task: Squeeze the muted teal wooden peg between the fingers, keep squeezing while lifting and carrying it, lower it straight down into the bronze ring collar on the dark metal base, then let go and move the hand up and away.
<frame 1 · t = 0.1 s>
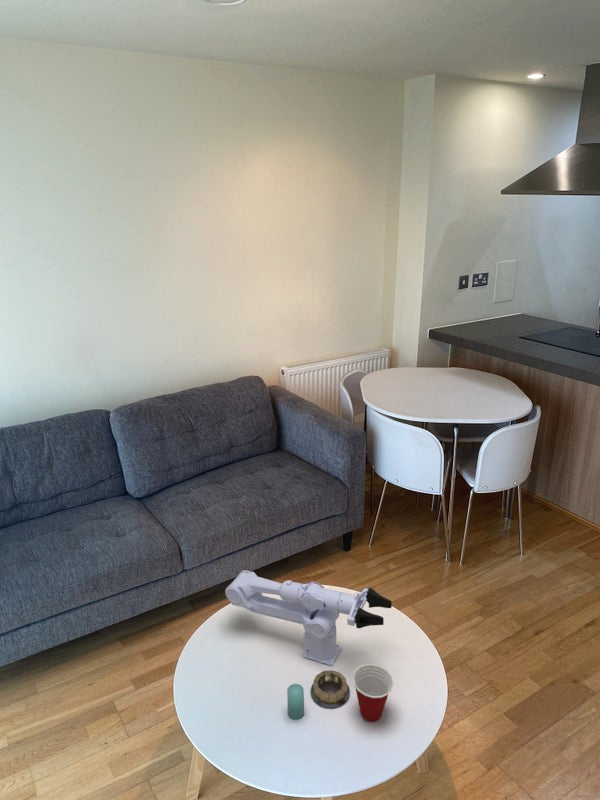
hand: (387, 612, 165), 22 cm above the table, tool horizontal, fingers open, 7 cm apart
candle: (299, 614, 196), on the table
plastic cup: (372, 713, 159), on the table
peg: (296, 713, 160), on the table
ring holder: (330, 692, 166), on the table
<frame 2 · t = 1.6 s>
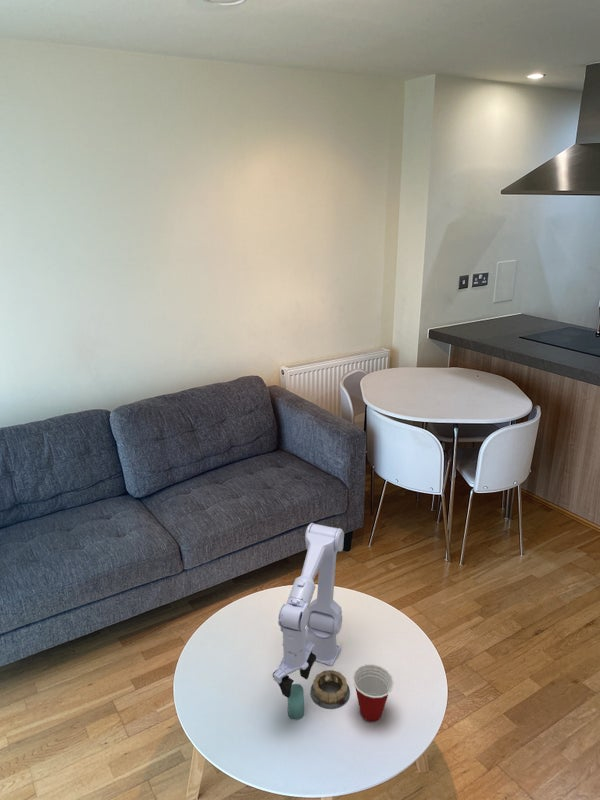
hand: (295, 686, 156), 9 cm above the table, tool pointing down, fingers open, 7 cm apart
nothing on the table moved.
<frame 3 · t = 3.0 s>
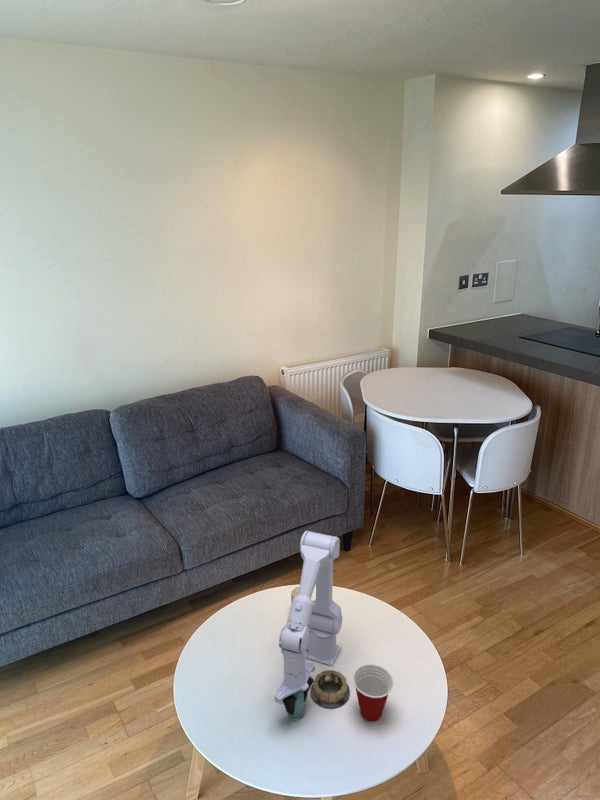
hand: (295, 706, 159), 2 cm above the table, tool pointing down, fingers closed on peg, 4 cm apart
peg: (296, 713, 160), on the table, touching gripper
everything else where it was.
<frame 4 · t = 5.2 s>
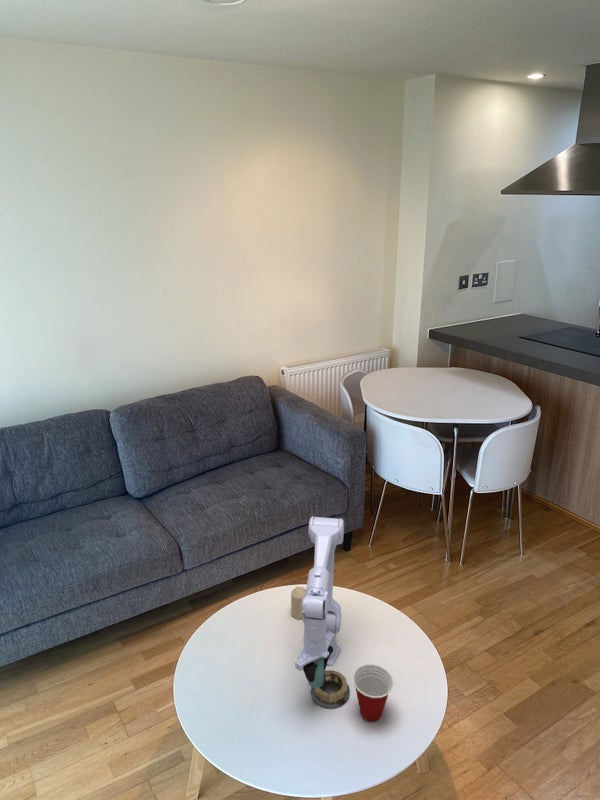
hand: (315, 674, 160), 9 cm above the table, tool pointing down, fingers closed on peg, 4 cm apart
peg: (315, 681, 161), point 7 cm above the table, touching gripper
everything else where it was.
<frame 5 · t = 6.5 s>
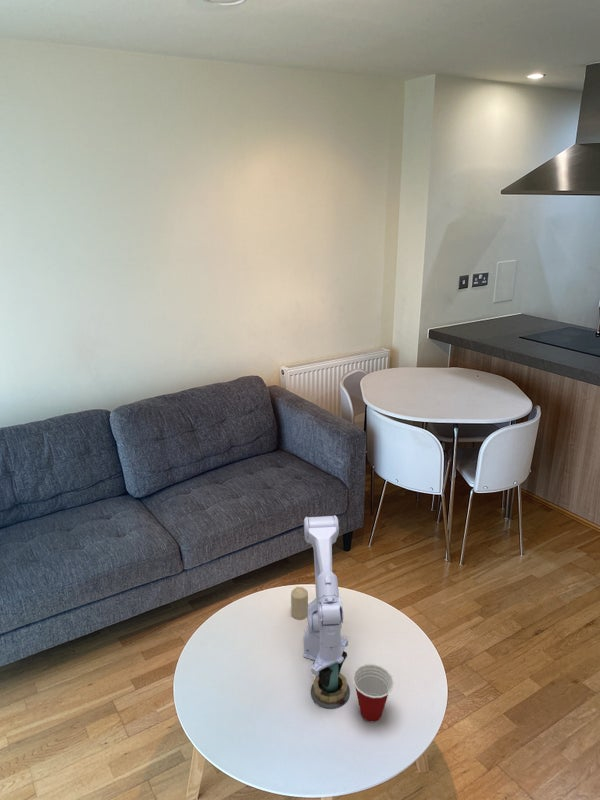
hand: (330, 679, 164), 5 cm above the table, tool pointing down, fingers closed on peg, 4 cm apart
peg: (330, 686, 165), point 2 cm above the table, touching gripper
everything else where it was.
when the fingers open (5 cm above the table, at t = 7.6 s): peg drops 2 cm, resting on ring holder.
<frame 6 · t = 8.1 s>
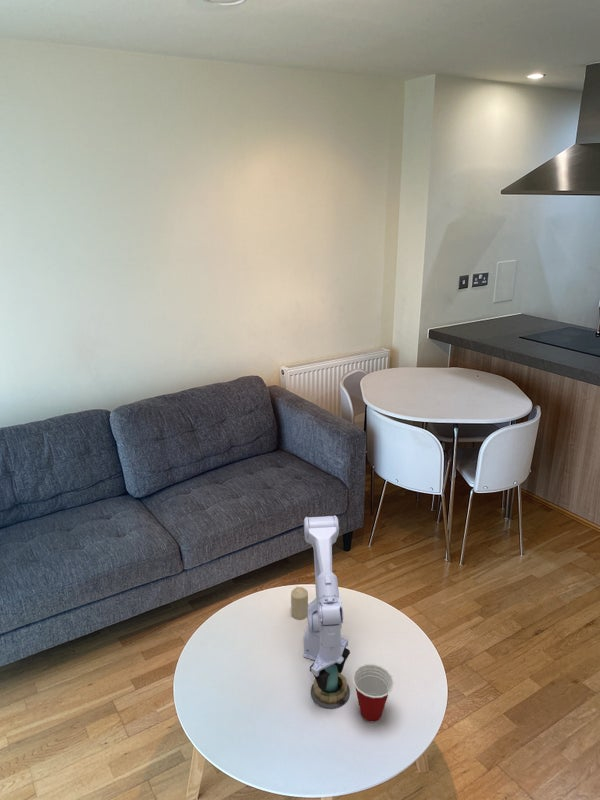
hand: (330, 679, 164), 5 cm above the table, tool pointing down, fingers open, 7 cm apart
peg: (329, 691, 166), point 1 cm above the table, touching ring holder
everything else where it was.
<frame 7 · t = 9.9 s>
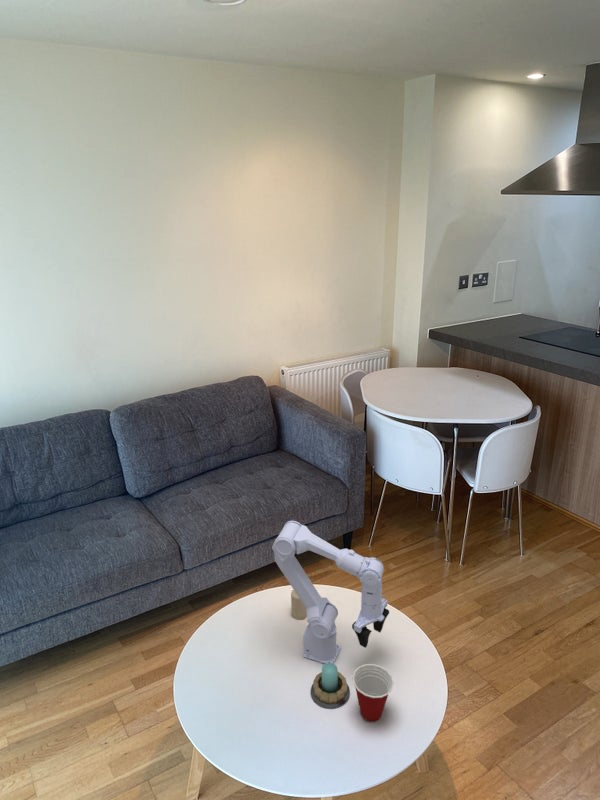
hand: (370, 637, 172), 9 cm above the table, tool pointing down, fingers open, 7 cm apart
nothing on the table moved.
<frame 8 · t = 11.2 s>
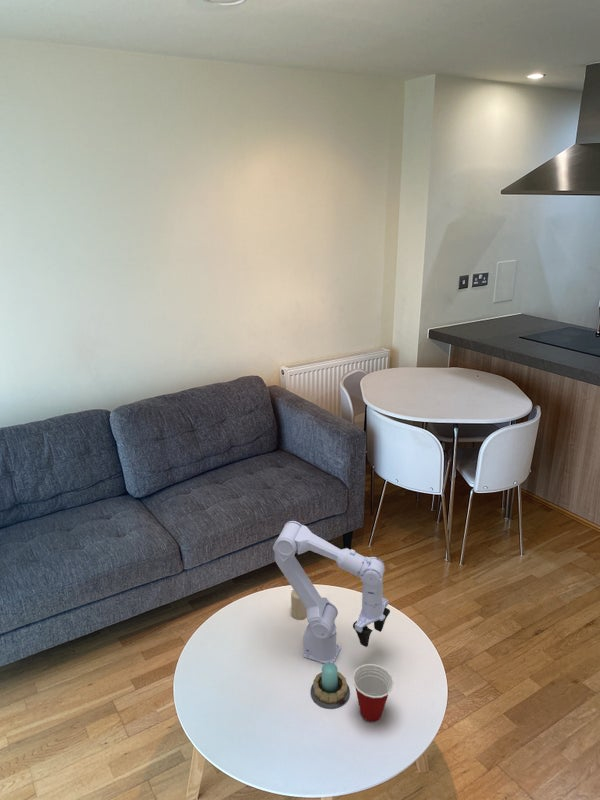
hand: (371, 637, 173), 9 cm above the table, tool pointing down, fingers open, 7 cm apart
nothing on the table moved.
at the end: peg 0.2 cm off-centre on the ring holder, point 0.6 cm above the ring holder's base; peg tilted 0°; the gripper is holding nothing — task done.
